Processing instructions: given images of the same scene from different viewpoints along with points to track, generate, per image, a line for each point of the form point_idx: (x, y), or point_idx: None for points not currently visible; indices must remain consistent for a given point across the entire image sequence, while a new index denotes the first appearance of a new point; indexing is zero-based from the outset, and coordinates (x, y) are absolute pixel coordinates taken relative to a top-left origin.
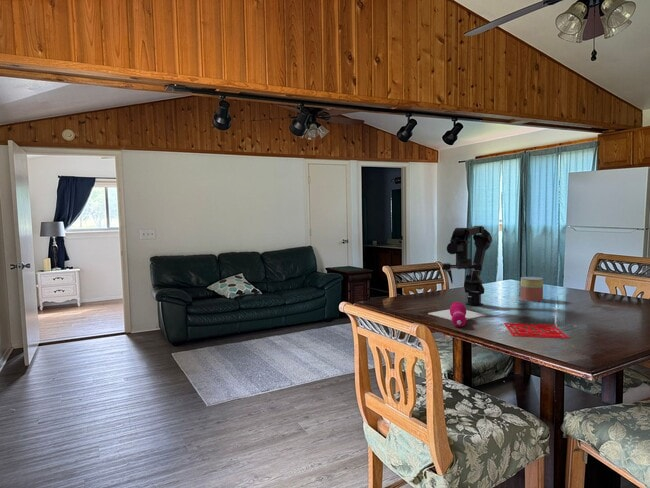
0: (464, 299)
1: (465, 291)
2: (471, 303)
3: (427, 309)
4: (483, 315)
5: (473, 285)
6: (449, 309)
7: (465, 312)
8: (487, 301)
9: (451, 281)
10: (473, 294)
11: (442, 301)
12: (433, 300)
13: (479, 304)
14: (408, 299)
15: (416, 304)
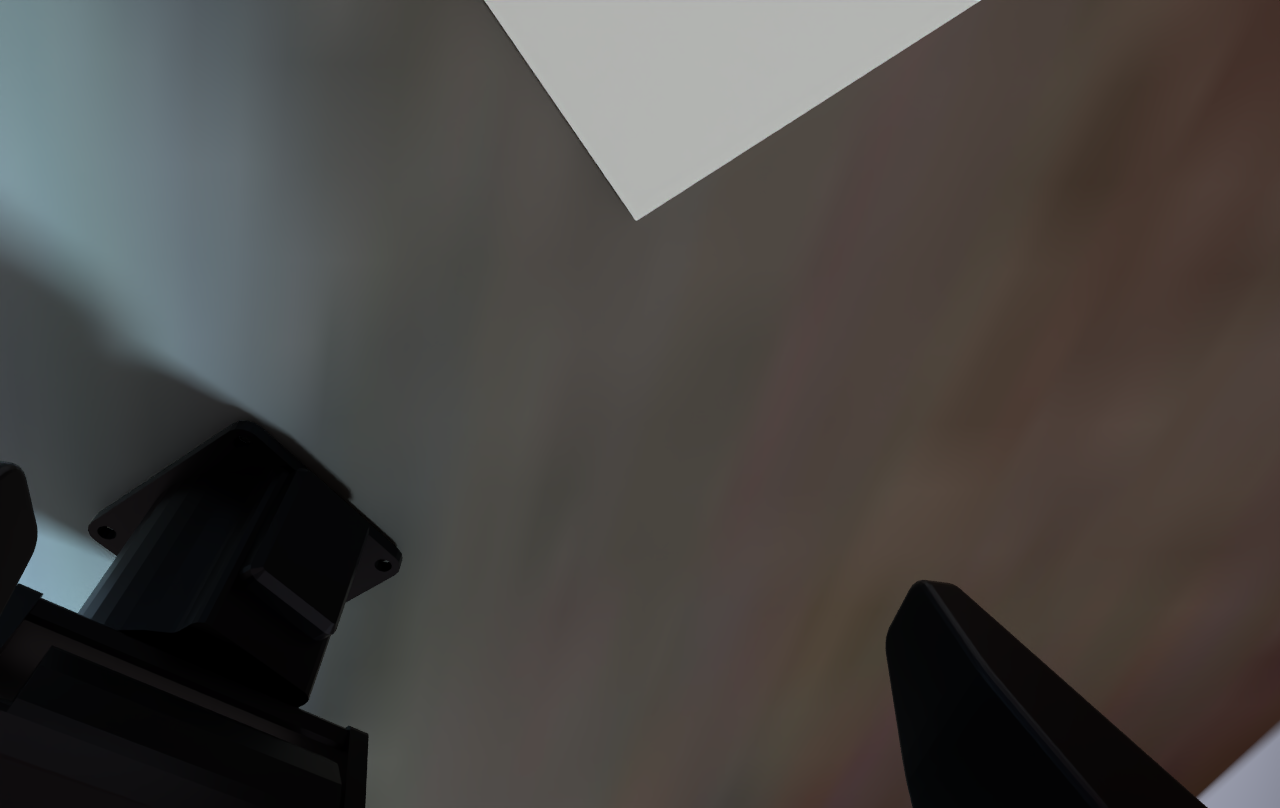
0: (383, 799)
1: (356, 745)
2: (302, 479)
3: (1249, 174)
4: None
5: (68, 773)
6: (844, 78)
7: None
8: None
9: (1015, 648)
10: (194, 615)
11: (725, 705)
12: (832, 750)
13: (157, 477)
14: None
15: (1206, 544)
